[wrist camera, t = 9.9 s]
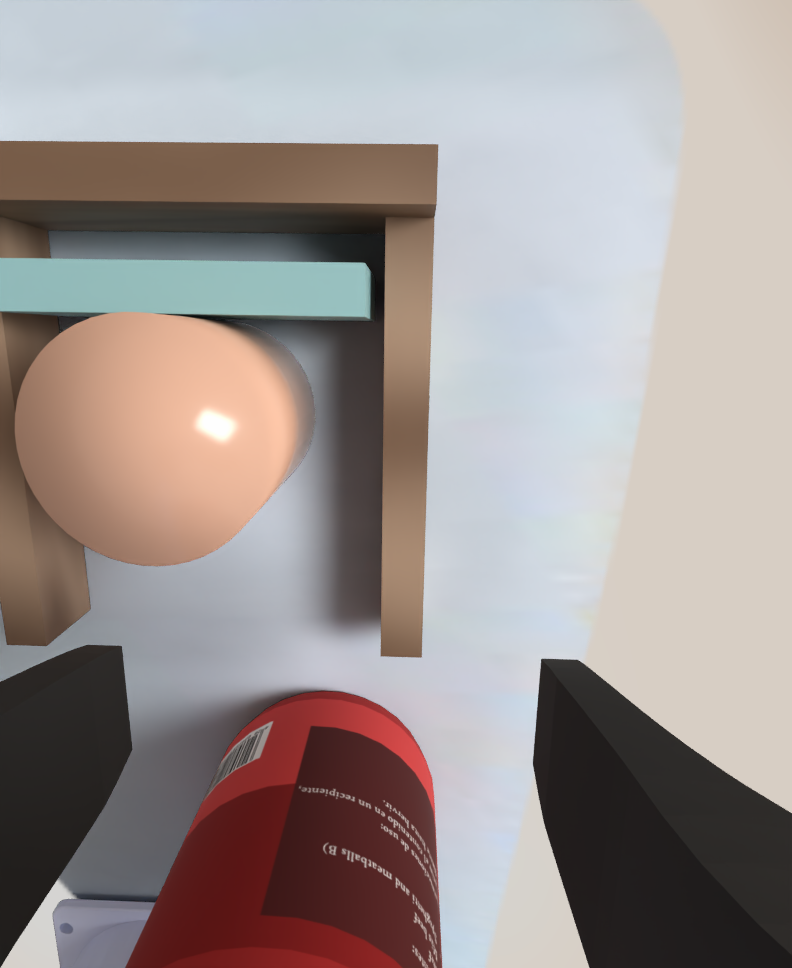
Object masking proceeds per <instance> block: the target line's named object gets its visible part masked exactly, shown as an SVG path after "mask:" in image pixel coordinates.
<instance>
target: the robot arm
mask: <svg viewBox="0 0 792 968" xmlns="http://www.w3.org/2000/svg"><path fill="white" fill-rule="evenodd" d="M131 751H132V742H131V732H130V722H129V712H128V703H127V693H126V683H125V673H124V663H123V653H122V646H105V645H86V646H83V647H80V648H77V649H74V650H71V651H68V652H66V653H64V654H61V655H59V656H56V657H54V658H52V659H49V660H47V661H45V662H43V663H40V664H38V665H36V666H34V667H32V668H29V669H27V670H25V671H23V672H21V673H19V674H17V675H14V676H12V677H10V678H8V679H6V680H4V681H1V682H0V967H1V966H2V964H3V962H4V961H5V959H6V957H7V956H8V954H9V953H10V951H11V949H12V948H13V946H14V944H15V943H16V941H17V940H18V938H19V937H20V935H21V934H22V932H23V931H24V929H25V928H26V926H27V925H28V923H29V922H30V920H31V919H32V917H33V916H34V914H35V913H36V911H37V909H38V908H39V906H40V905H41V903H42V902H43V900H44V899H45V897H46V896H47V894H48V893H49V891H50V890H51V888H52V887H53V885H54V884H55V882H56V881H57V879H58V878H59V876H60V875H61V873H62V872H63V870H64V869H65V867H66V866H67V864H68V862H69V861H70V859H71V858H72V856H73V855H74V853H75V852H76V850H77V849H78V847H79V846H80V844H81V843H82V841H83V839H84V838H85V836H86V835H87V833H88V832H89V830H90V829H91V827H92V826H93V824H94V822H95V821H96V819H97V818H98V816H99V814H100V813H101V811H102V810H103V808H104V806H105V805H106V803H107V801H108V799H109V797H110V795H111V793H112V791H113V789H114V787H115V785H116V783H117V781H118V779H119V777H120V775H121V773H122V770H123V768H124V766H125V764H126V762H127V760H128V757H129V755H130V753H131ZM533 767H534V772H535V778H536V784H537V789H538V795H539V800H540V804H541V810H542V815H543V819H544V824H545V828H546V831H547V834H548V838H549V841H550V844H551V847H552V850H553V853H554V857H555V860H556V863H557V867H558V870H559V873H560V876H561V879H562V882H563V886H564V889H565V892H566V895H567V898H568V901H569V904H570V908H571V910H572V914H573V917H574V920H575V924H576V927H577V929H578V933H579V936H580V939H581V942H582V946H583V949H584V952H585V955H586V958H587V961H588V964H589V967H590V968H792V813H790V812H789V811H787V810H785V809H784V808H782V807H780V806H779V805H777V804H775V803H774V802H772V801H770V800H769V799H767V798H765V797H764V796H762V795H760V794H759V793H757V792H756V791H754V790H752V789H751V788H749V787H747V786H745V785H744V784H742V783H741V782H739V781H738V780H737V779H735V778H733V777H732V776H730V775H729V774H727V773H725V772H724V771H722V770H721V769H720V768H718V767H717V766H716V765H714V764H712V763H711V762H710V761H709V760H707V759H706V758H704V757H703V756H701V755H700V754H699V753H697V752H695V751H694V750H693V749H691V748H690V747H689V746H687V745H686V744H684V743H683V742H682V741H680V740H679V739H678V738H676V737H675V736H674V735H672V734H671V733H670V732H668V731H667V730H666V729H664V728H663V727H662V726H660V725H659V724H658V723H657V722H655V721H654V720H653V719H651V718H650V717H649V716H648V715H646V714H645V713H643V712H642V711H641V710H640V709H639V708H638V707H636V706H635V705H634V704H633V703H631V702H630V701H629V700H628V699H626V698H625V697H624V696H623V695H622V694H620V693H619V692H618V691H617V690H615V689H614V688H613V687H612V686H611V685H609V684H608V683H607V682H606V681H604V680H603V679H602V678H601V677H599V676H598V675H597V674H596V673H595V672H593V671H592V670H591V669H590V668H588V667H587V666H586V665H584V664H583V663H582V662H580V661H579V660H563V659H541V670H540V683H539V695H538V707H537V719H536V732H535V744H534V756H533ZM154 905H155V902H132V901H108V900H84V899H65V900H62V901H60V902H59V904H58V905H57V907H56V908H55V910H54V912H53V922H54V929H55V936H56V942H57V948H58V956H59V962H60V968H125V967H126V965H127V963H128V960H129V958H130V956H131V954H132V952H133V950H134V947H135V945H136V943H137V941H138V939H139V937H140V935H141V932H142V930H143V928H144V926H145V924H146V922H147V920H148V917H149V915H150V913H151V911H152V909H153V907H154Z"/></svg>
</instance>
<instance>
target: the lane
mask: <svg viewBox="0 0 792 968" xmlns="http://www.w3.org/2000/svg"><path fill="white" fill-rule="evenodd" d="M437 167H438V145H436V144H311V143H185V142H59V141H0V258H46V259H51V256H50V247H49V238H48V230H66V231H150V232H234V233H317V234H385V319H384V408H383V498H382V588H381V656H390V657H422V624H423V590H424V555H425V521H426V486H427V452H428V417H429V383H430V348H431V314H432V279H433V245H434V216H435V210H436V201H437ZM58 335H59V326H58V317H57V316H55V315H39V314H24V313H9V312H0V602H1V608H2V615H3V622H4V628H5V635H6V641H7V645H30V646H47V645H48V644H49V643H51V642H52V641H53V640H54V639H55V638H57V637H58V636H59V635H60V634H61V633H63V632H64V631H65V630H66V629H67V628H69V627H70V626H71V625H72V624H73V623H75V622H76V621H77V620H78V619H79V618H81V617H82V616H83V615H84V614H85V613H87V612H88V611H89V610H90V609H91V608H90V599H89V591H88V582H87V573H86V564H85V555H84V547H83V544H81V543H80V542H78V541H77V540H76V539H74V538H73V537H71V536H70V535H69V534H67V533H66V532H65V531H64V530H63V529H62V528H61V527H60V526H59V525H58V524H57V523H55V521H54V520H53V519H52V518H51V517H50V516H49V515H48V513H47V512H46V511H45V510H44V509H43V507H42V506H41V504H40V503H39V501H38V500H37V498H36V497H35V495H34V493H33V492H32V490H31V488H30V486H29V484H28V482H27V480H26V477H25V475H24V472H23V470H22V467H21V464H20V460H19V456H18V452H17V447H16V439H15V412H16V405H17V399H18V395H19V392H20V389H21V385H22V382H23V380H24V378H25V376H26V374H27V372H28V369H29V368H30V366H31V365H32V363H33V362H34V360H35V359H36V357H37V355H38V354H39V353H40V352H41V351H42V350H43V349H44V348H45V346H46V345H47V344H48V343H49V342H50V341H52V340H53V339H54V338H55V337H56V336H58Z"/></svg>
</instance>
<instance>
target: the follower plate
mask: <svg viewBox="0 0 792 968" xmlns="http://www.w3.org/2000/svg"><path fill="white" fill-rule="evenodd" d="M0 312H9V313H24V314H39V315H55V316H80V317H95V316H99V315H103V314H107V313H117V312H144V313H154V314H164V315H175V316H185V317H195V318H206V319H270V320H333V321H375V277H374V276H373V274H372V273H371V271H370V270H369V268H368V267H367V265H366V264H365V263H349V262H273V261H197V260H122V259H46V258H0Z"/></svg>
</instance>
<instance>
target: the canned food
mask: <svg viewBox="0 0 792 968" xmlns="http://www.w3.org/2000/svg"><path fill="white" fill-rule="evenodd" d="M125 968H442V954H441V933H440V911H439V890H438V869H437V848H436V827H435V805H434V792H433V783H432V777H431V774H430V771H429V768H428V765H427V763H426V760H425V758H424V756H423V754H422V751H421V749H420V747H419V746H418V744H417V742H416V741H415V739H414V737H413V736H412V734H411V732H410V731H409V730H408V729H407V728H406V727H405V726H404V725H403V723H402V722H401V721H400V720H399V719H398V718H397V717H396V716H394V715H393V714H391V713H390V712H389V711H387V710H386V709H385V708H383V707H382V706H380V705H378V704H376V703H374V702H371V701H369V700H367V699H365V698H363V697H359V696H355V695H351V694H347V693H343V692H328V691H320V692H311V693H303V694H299V695H296V696H293V697H290V698H287V699H284V700H282V701H280V702H278V703H276V704H274V705H272V706H270V707H269V708H267V709H266V710H264V711H263V712H262V713H261V714H260V715H258V716H257V717H256V718H255V719H253V720H252V721H251V722H250V723H249V724H248V725H247V726H246V727H245V728H244V729H242V730H241V731H240V733H239V734H238V735H237V736H236V738H235V739H234V740H233V742H232V743H231V744H230V745H229V747H228V749H227V751H226V753H225V755H224V757H223V759H222V761H221V763H220V765H219V767H218V769H217V771H216V774H215V776H214V778H213V780H212V782H211V784H210V787H209V789H208V791H207V793H206V795H205V797H204V799H203V802H202V804H201V806H200V808H199V810H198V812H197V814H196V817H195V819H194V821H193V823H192V825H191V827H190V829H189V832H188V834H187V836H186V838H185V840H184V842H183V844H182V847H181V849H180V851H179V853H178V855H177V857H176V859H175V862H174V864H173V866H172V868H171V870H170V872H169V875H168V877H167V879H166V881H165V883H164V885H163V887H162V890H161V892H160V894H159V896H158V898H157V900H156V902H155V905H154V907H153V909H152V911H151V913H150V915H149V917H148V920H147V922H146V924H145V926H144V928H143V930H142V932H141V935H140V937H139V939H138V941H137V943H136V945H135V947H134V950H133V952H132V954H131V956H130V958H129V960H128V963H127V965H126V967H125Z"/></svg>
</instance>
